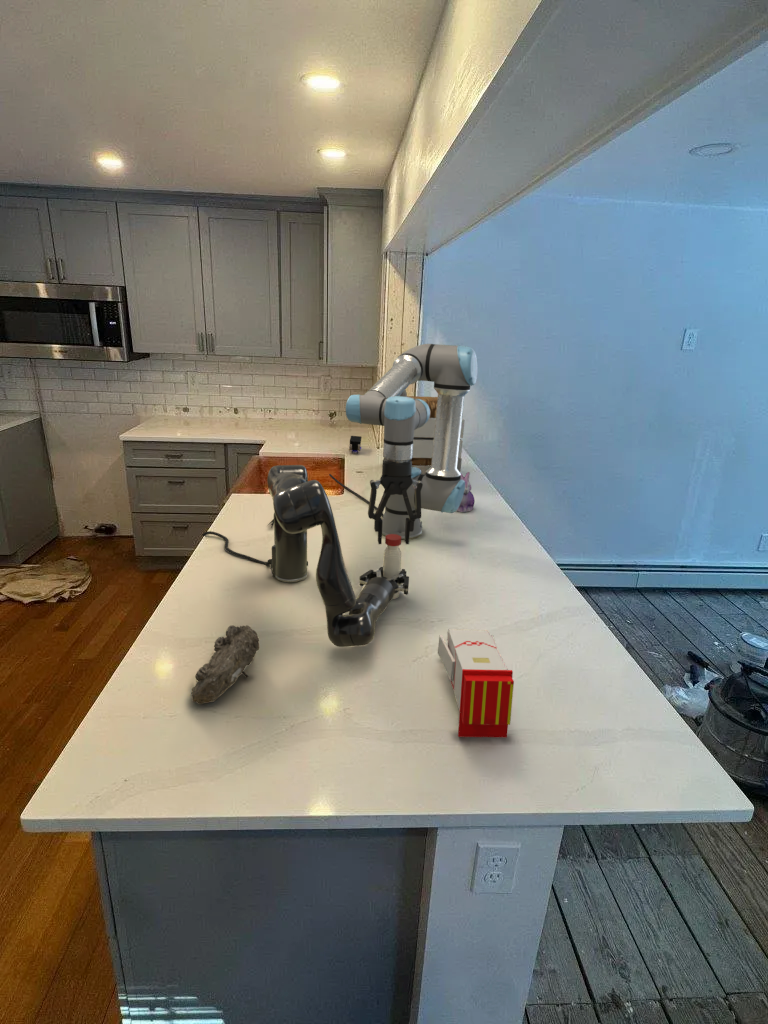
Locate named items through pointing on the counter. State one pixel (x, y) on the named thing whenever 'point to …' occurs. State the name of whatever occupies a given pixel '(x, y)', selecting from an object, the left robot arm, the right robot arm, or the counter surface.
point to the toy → (478, 682)
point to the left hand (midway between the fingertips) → (394, 570)
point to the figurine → (466, 496)
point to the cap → (393, 540)
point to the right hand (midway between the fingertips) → (393, 542)
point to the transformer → (428, 436)
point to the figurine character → (355, 444)
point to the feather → (272, 523)
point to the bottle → (392, 563)
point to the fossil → (225, 663)
